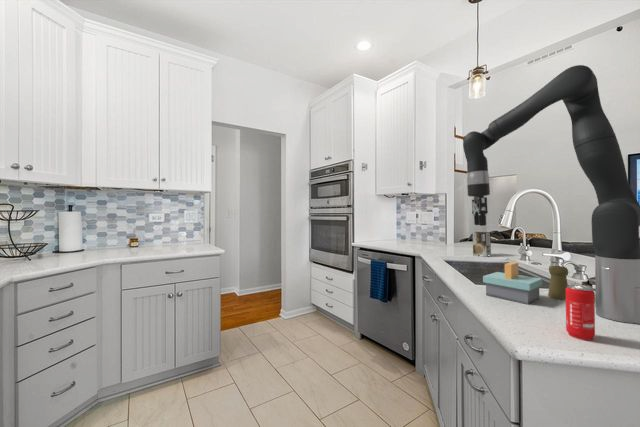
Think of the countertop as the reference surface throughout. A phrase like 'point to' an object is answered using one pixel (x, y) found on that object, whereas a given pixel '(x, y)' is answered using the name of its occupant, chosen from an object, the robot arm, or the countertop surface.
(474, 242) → the coffee box
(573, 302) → the beverage can
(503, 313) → the countertop surface
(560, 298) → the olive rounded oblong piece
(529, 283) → the lid
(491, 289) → the tub
